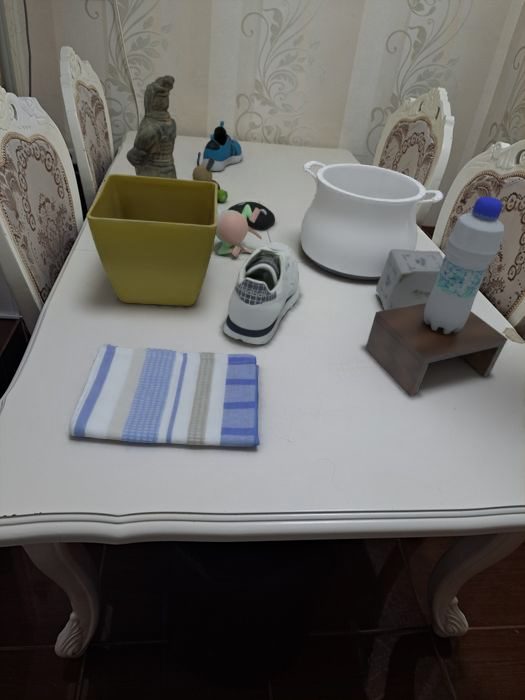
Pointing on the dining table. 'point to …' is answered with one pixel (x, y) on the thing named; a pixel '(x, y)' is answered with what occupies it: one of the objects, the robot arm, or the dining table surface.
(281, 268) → the running shoe
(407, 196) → the pot
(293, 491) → the dining table surface
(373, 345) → the shelf
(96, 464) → the dining table surface
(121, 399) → the dish towel
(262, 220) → the computer mouse
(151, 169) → the statue
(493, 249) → the bottle
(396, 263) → the white printed box
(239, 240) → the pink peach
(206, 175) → the tan rounded piece
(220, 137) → the shoe
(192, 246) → the flower pot
